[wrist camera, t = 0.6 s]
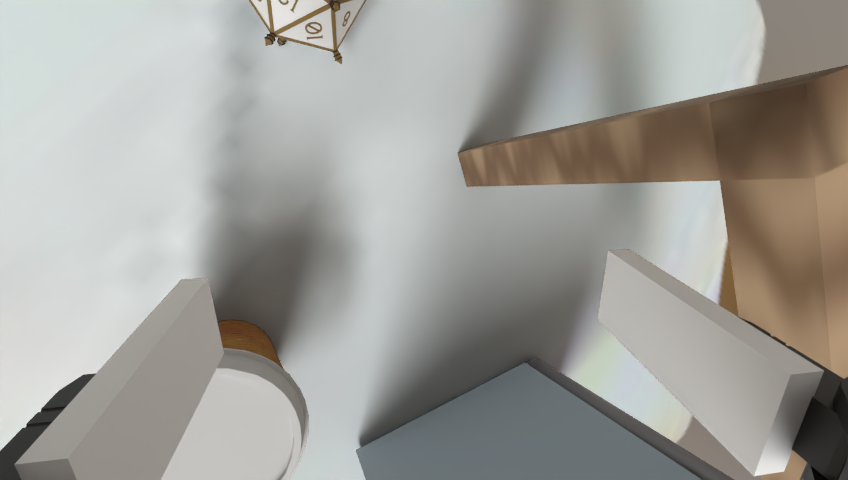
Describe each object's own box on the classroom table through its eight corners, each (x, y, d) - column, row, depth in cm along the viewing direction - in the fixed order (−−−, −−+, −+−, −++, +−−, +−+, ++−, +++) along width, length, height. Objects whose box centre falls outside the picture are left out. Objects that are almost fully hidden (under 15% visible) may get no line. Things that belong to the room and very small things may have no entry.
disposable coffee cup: (124, 381, 29) (36, 499, 18) (217, 272, 30) (188, 320, 19) (242, 442, 32) (229, 575, 21) (321, 342, 34) (348, 417, 23)
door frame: (457, 152, 36) (806, 82, 13) (487, 143, 37) (863, 61, 14) (527, 409, 42) (858, 685, 18) (552, 395, 42) (897, 643, 19)
